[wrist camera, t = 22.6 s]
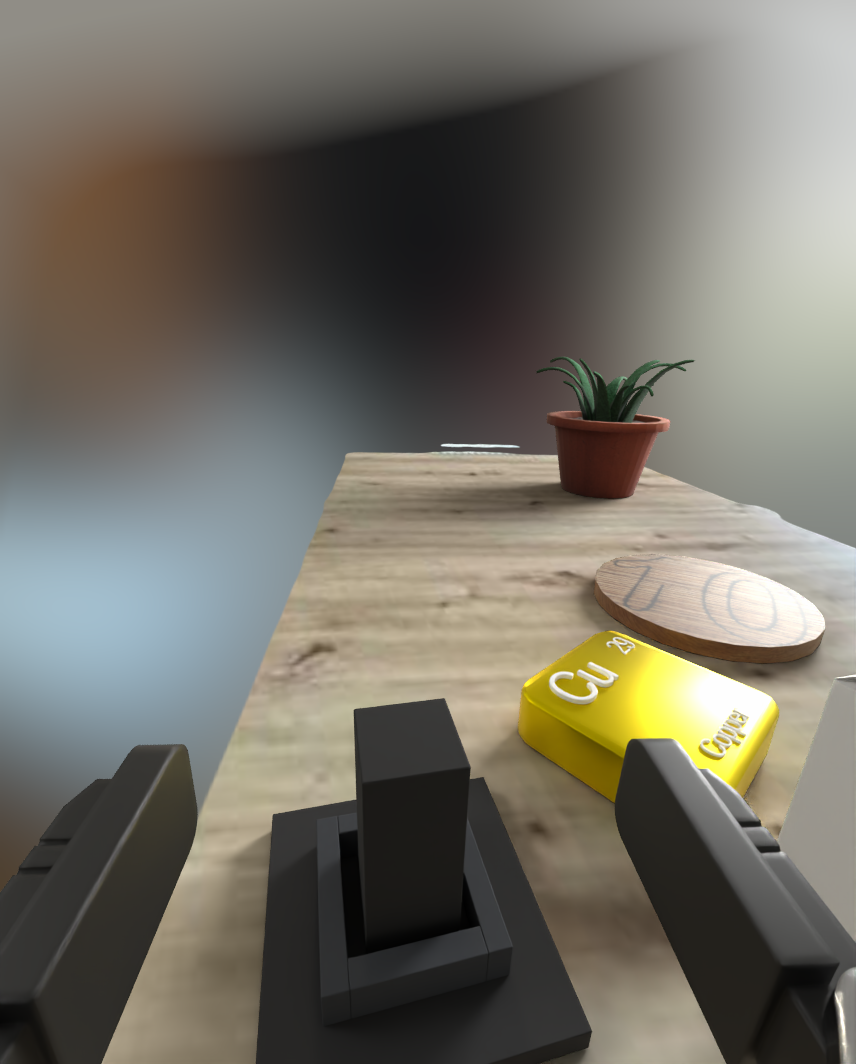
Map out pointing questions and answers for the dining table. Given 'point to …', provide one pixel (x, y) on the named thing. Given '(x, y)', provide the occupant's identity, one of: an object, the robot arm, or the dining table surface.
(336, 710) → the dining table surface
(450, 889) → the block
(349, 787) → the dining table surface
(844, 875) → the milk carton
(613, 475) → the potted plant
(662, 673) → the element tile
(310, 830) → the base pad
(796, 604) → the trivet
